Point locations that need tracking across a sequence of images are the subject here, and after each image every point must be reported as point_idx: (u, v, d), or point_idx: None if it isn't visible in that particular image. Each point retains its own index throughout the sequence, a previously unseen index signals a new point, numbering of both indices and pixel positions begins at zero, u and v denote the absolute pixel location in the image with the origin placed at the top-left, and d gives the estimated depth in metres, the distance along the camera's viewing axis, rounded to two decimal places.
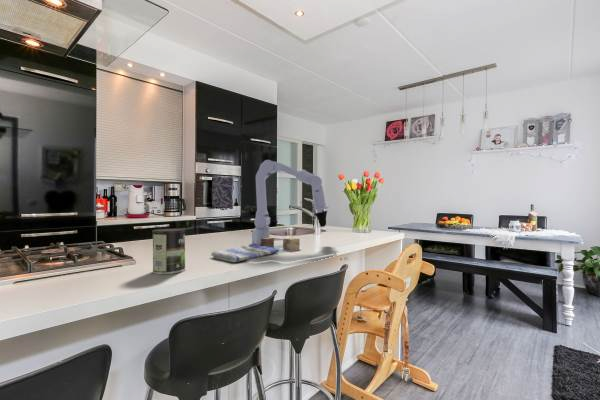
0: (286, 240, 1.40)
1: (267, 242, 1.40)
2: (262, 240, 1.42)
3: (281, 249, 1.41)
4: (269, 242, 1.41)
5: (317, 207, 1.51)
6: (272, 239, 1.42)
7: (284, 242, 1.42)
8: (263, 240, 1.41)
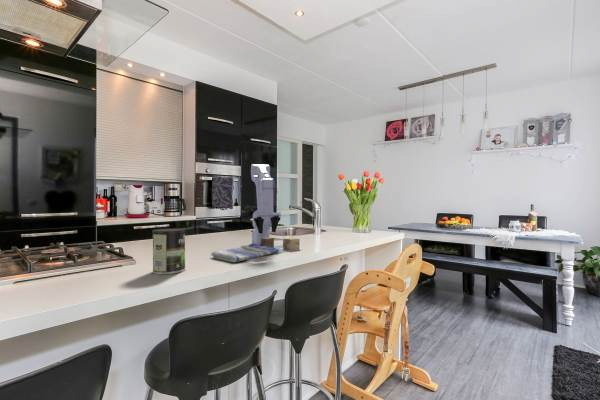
0: (286, 240, 1.40)
1: (267, 242, 1.40)
2: (262, 240, 1.42)
3: (281, 249, 1.41)
4: (269, 242, 1.41)
5: (261, 212, 1.42)
6: (272, 239, 1.42)
7: (284, 242, 1.42)
8: (263, 240, 1.41)
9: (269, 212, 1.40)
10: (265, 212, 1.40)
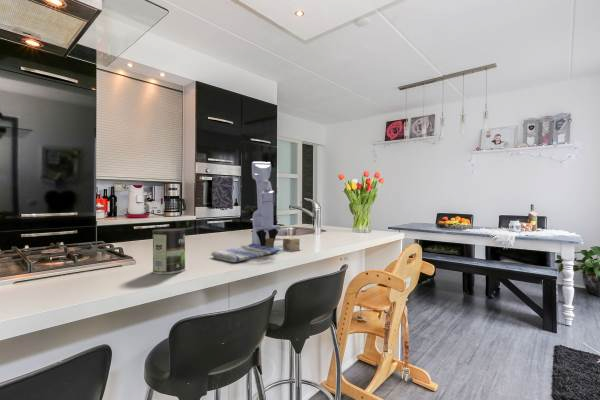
0: (286, 240, 1.40)
1: (267, 242, 1.40)
2: None
3: (281, 249, 1.41)
4: (269, 242, 1.41)
5: (261, 225, 1.42)
6: (272, 239, 1.42)
7: (284, 242, 1.42)
8: None
9: (269, 225, 1.40)
10: (265, 225, 1.40)
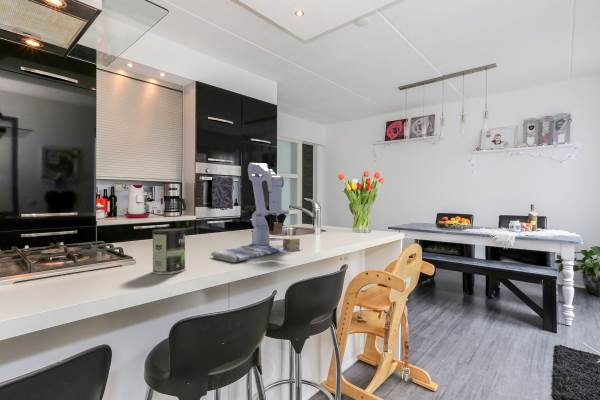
0: (286, 240, 1.40)
1: (275, 227, 1.40)
2: None
3: (281, 249, 1.41)
4: (277, 226, 1.40)
5: (269, 209, 1.42)
6: (280, 224, 1.42)
7: (284, 242, 1.42)
8: None
9: (277, 210, 1.40)
10: (273, 210, 1.40)
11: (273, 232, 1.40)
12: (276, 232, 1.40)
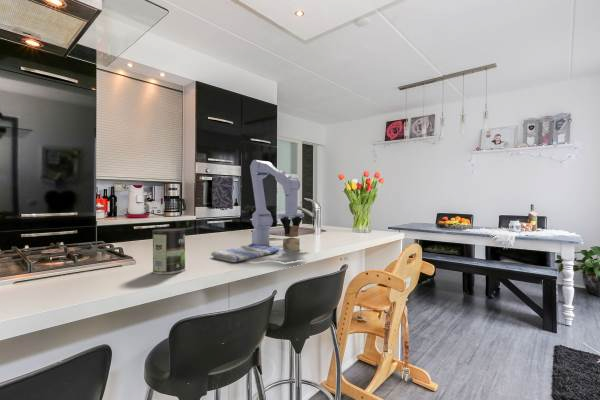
0: (286, 240, 1.40)
1: (291, 229, 1.39)
2: None
3: (281, 249, 1.41)
4: (293, 229, 1.40)
5: (285, 212, 1.41)
6: (296, 226, 1.41)
7: (284, 242, 1.42)
8: None
9: (293, 212, 1.40)
10: (289, 212, 1.39)
11: (289, 235, 1.40)
12: (292, 235, 1.40)
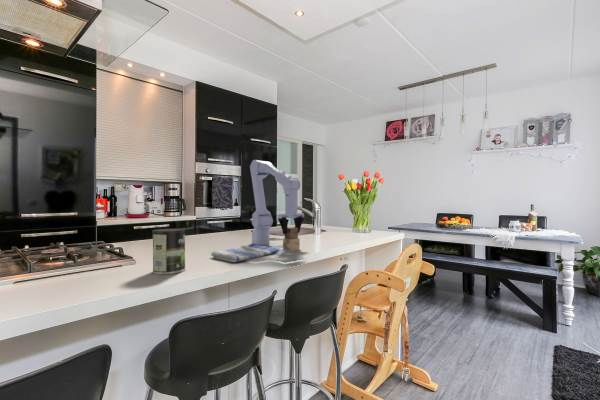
0: (286, 240, 1.40)
1: (291, 232, 1.39)
2: None
3: (281, 249, 1.41)
4: (293, 231, 1.40)
5: (285, 212, 1.41)
6: (296, 228, 1.41)
7: (284, 242, 1.42)
8: (287, 229, 1.41)
9: (293, 212, 1.40)
10: (289, 212, 1.39)
11: (289, 237, 1.40)
12: (292, 237, 1.40)
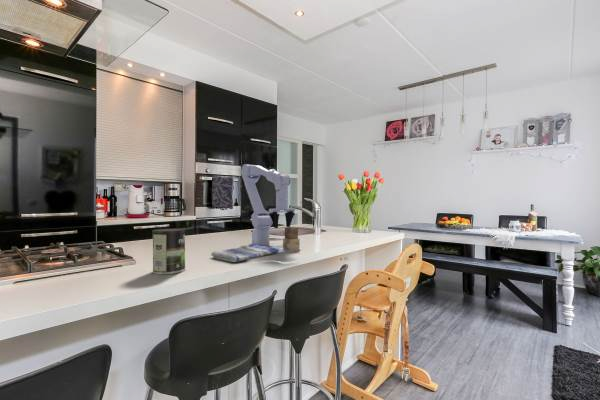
0: (286, 240, 1.40)
1: (291, 232, 1.39)
2: (286, 229, 1.41)
3: (281, 249, 1.41)
4: (293, 231, 1.40)
5: (276, 207, 1.46)
6: (296, 228, 1.41)
7: (284, 242, 1.42)
8: (287, 229, 1.41)
9: (284, 207, 1.45)
10: (280, 207, 1.44)
11: (289, 237, 1.40)
12: (292, 237, 1.40)
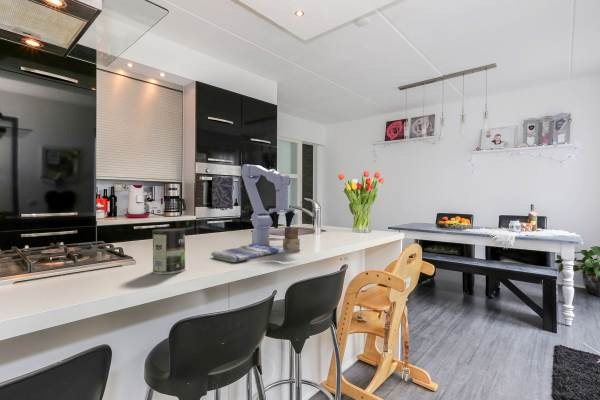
0: (286, 240, 1.40)
1: (291, 232, 1.39)
2: (286, 229, 1.41)
3: (281, 249, 1.41)
4: (293, 231, 1.40)
5: (276, 207, 1.46)
6: (296, 228, 1.41)
7: (284, 242, 1.42)
8: (287, 229, 1.41)
9: (284, 207, 1.45)
10: (280, 207, 1.44)
11: (289, 237, 1.40)
12: (292, 237, 1.40)
